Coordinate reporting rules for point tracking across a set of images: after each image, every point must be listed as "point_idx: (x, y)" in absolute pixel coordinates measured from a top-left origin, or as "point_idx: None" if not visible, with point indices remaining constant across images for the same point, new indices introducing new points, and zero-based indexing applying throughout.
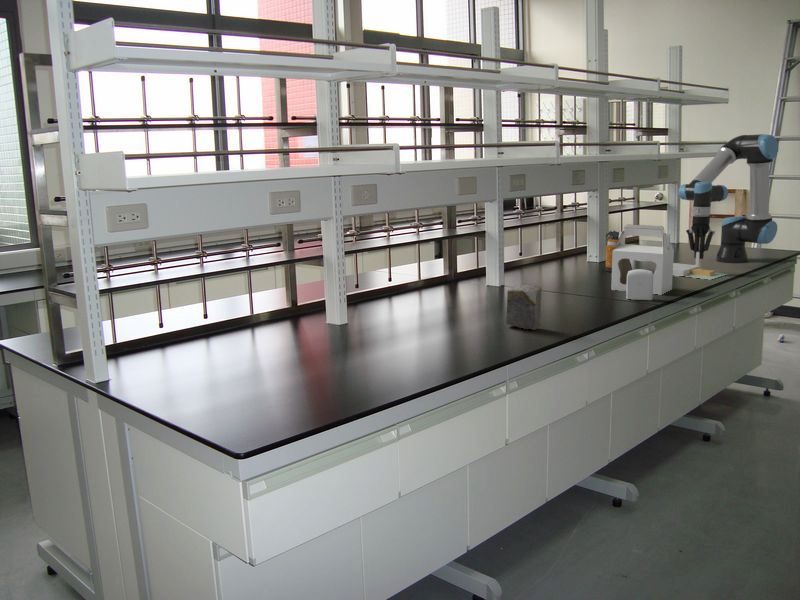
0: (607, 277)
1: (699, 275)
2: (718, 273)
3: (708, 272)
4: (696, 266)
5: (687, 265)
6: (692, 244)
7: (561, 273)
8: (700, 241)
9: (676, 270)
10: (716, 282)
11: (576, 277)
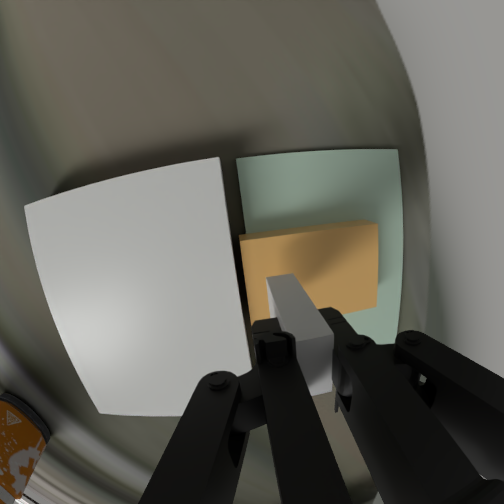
0: (109, 486)
1: None
2: (356, 166)
3: (366, 307)
4: (214, 217)
5: (136, 227)
6: (237, 477)
7: (33, 471)
8: (388, 494)
9: None
10: None
11: (85, 496)
